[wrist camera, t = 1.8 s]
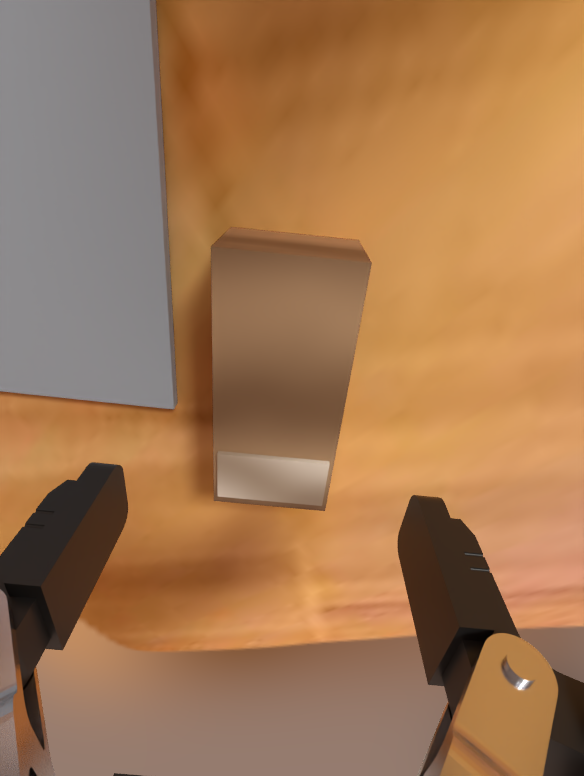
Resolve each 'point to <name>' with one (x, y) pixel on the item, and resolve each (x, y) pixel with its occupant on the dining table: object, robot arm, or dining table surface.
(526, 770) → the robot arm
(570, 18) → the dining table surface
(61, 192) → the slate mat
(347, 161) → the dining table surface
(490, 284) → the dining table surface
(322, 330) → the brown rectangular block
